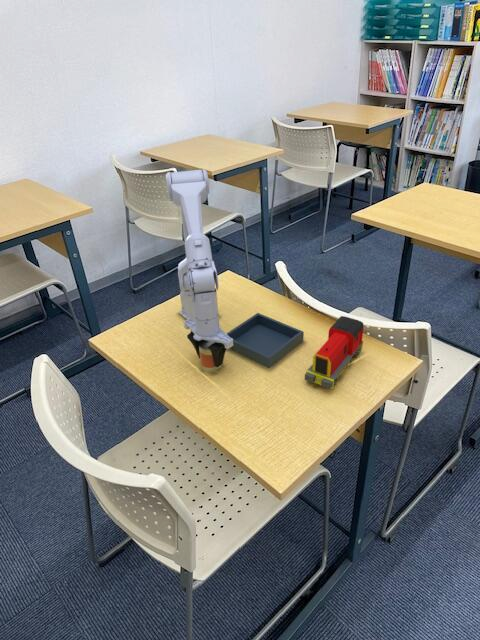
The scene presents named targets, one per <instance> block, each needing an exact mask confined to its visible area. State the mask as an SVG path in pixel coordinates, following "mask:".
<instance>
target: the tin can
mask: <svg viewBox="0 0 480 640" xmlns="http://www.w3.org/2000/svg"><path fill="white" fill-rule="evenodd" d="M213 343H215V342H213V341H208V340H201V341H200V343H199V352H200V358H199V359H200V367H201V368H200V369H201V370H202V371H204V372H206V373H214V372H217V371H219V370H220V369H221V368H222V365H220V366H219V367H215V365H214V360H213V356H212V353H211V351H210V349H209V348H208V346H210V345H211V344H213Z"/></svg>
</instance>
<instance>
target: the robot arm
mask: <svg viewBox="0 0 480 640" xmlns="http://www.w3.org/2000/svg"><path fill="white" fill-rule="evenodd" d="M165 181H166V189H167V194H168V195H167V196H168V199H170V201H171V202H172V204H174V205H176V206H178V207H180V213H181V222H182V231H183V239H184V249H185V250H184V251H185V256H186V257H185V258H184V259H183V260H181V261H180V262H179V263H178V264H177V265H178V266H177V277H178V283H179V284H178V285H179V290H180V293H179V296H180V297H179V298H180V304H181V305H180V306H181V311H179V315H181V316H182V317H183V318H184V319H186V320H184V321H183V325H184V329H185V330H190V332H189V333H188V334H186V335H187V339H188V341H189V342H190V343H191V344H192V346H193V348H194V349H195V352H196V355H197V357H198V358H199V359H200V352H199V343H200V341H201V340H208V341H213V342H215V343H213V344H211V345H210V346H208V348H209V349H210V351H211V353H212V356H213V360H214V365H215V367H219V366H220V365H221V366H222V365H223V363H224V360H225V359H224V358H225V355H226V352H227V350H230V349H229V348H230V347H232V346H233V339H232V338H230V337H229V336H228V335H227V332H225V330H224V329H223V328H221V326H220V318H219V317H220V316H219V305H218V295H217V293H218V292H217V291H219V276H218V271H217V268H216V265H215V260H213V254H212V248H211V242H210V238H209V237H208V236H207V235H205V234H204V228H203V214H202V213H203V211H202V205H203V204H204V203H205V202H206V201H207V199H208V195H209V194H210V182H209V174H208V171H207V170H206V169H205V168H201V169H195V170H194V169H193V170H185V171H183V170H182V171H173V172H170V171H169V172H167V173H166V174H165Z"/></svg>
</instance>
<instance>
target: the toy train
mask: <svg viewBox="0 0 480 640" xmlns="http://www.w3.org/2000/svg"><path fill="white" fill-rule="evenodd" d="M364 328H365V327H364V322H363V321H361V320H359V319H357V318H356V319H355V318H352V317H348V316H344V315H341V316H339V318H338V319H337V320H336V321H335V322H334V323H333V324H332V326H330V328H329V329H328V337H327V340H326V341H325V342H324V344H323V345H322V346H321V347H320V348H319V349H318V351H316V353H315V354H314V355H313V356H312V364H311V365H310V367H308V369H307V370H306V371H305V374H304V381H307V382H308V383H312V384H317V385H319V386H321V387H323V388H325V389H328V390H333V389H334V388H335V387H336V385H337V379H339V378H340V377H341V375H342V373H344V371H345V370H346V368H347V367H348V365H349V364H350V363H351V360H352V359H353V357H355V358H358V356H359V355H360V352H362V351H363V347H364V340H363V335H364Z"/></svg>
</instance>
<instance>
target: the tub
mask: <svg viewBox="0 0 480 640" xmlns="http://www.w3.org/2000/svg"><path fill="white" fill-rule="evenodd" d="M304 333H305V332H304V331H303V330H301V329H298V328H295V327H294V326H291V325H289V324H286V323H284V322H281V321H279V320H276V319H274V318H271V317H269V316H266V315H264V314H261V313H259V312H256V313H255V314H254V315H252V316H251V317H249V318H247V319H246V320H245V321H243V322H242V323H239V324H238V325H237V326H235V327H234V328H233V329H231V330H229V331H227V332H226V334H227V335H228V336H229V337H230V338H232V339H233V346H232V347H230V348H229V349H228V350H231V351H233V352H234V353H238V354H239V355H241V356H243V357H245V358H247V359H249V360H252V361H254V362H255V363H257V364H260V365H261V366H263V367H266V368H267V369H270V368H272V367H274V366H275V364H277V363H278V362H279V361H280V360H282V359H283V358H284V357H286V356H287V355H288V354H289V353H291V352H292V351H293V350H295V349H296V348H297V347H298V346H300V344H303V343H304V335H305V334H304Z"/></svg>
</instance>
